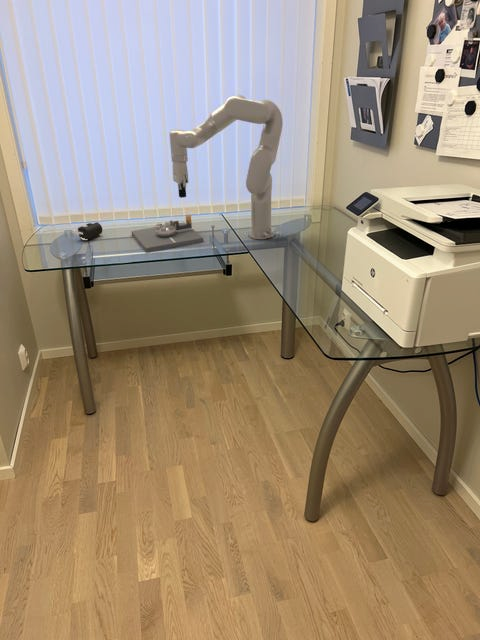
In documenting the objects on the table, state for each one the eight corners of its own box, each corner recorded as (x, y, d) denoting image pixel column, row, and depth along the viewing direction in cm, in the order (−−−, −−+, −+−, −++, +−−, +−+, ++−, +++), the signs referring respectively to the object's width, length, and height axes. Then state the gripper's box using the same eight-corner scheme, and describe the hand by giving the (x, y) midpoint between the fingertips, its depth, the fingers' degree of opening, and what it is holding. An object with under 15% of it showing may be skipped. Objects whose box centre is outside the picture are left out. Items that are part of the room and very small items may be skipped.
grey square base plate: (203, 241, 224) (203, 237, 223) (146, 252, 214) (145, 247, 213) (184, 225, 246) (184, 221, 245) (131, 234, 236) (131, 230, 235)
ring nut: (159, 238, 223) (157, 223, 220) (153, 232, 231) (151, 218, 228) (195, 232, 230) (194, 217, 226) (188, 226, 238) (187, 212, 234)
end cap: (90, 242, 229) (87, 228, 226) (79, 240, 232) (76, 227, 229) (103, 235, 237) (101, 222, 234) (93, 234, 240) (90, 221, 237)
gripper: (167, 156, 225) (170, 194, 235) (176, 161, 214) (180, 201, 223) (182, 154, 228) (184, 192, 237) (192, 160, 216) (195, 199, 225)
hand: (182, 196), depth 230 cm, fingers closed
